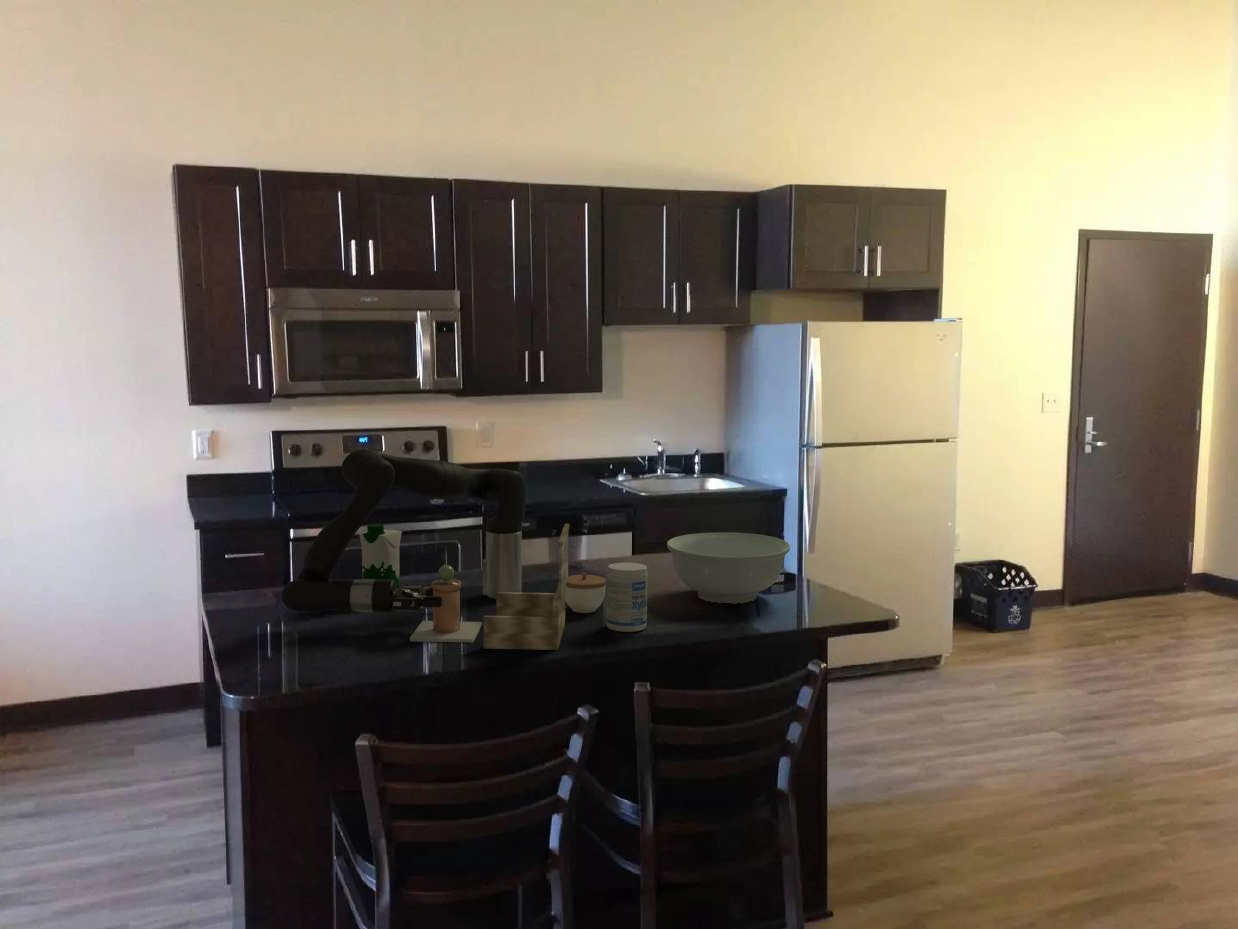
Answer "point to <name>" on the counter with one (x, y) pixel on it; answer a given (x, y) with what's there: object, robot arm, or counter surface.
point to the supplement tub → (627, 597)
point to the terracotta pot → (446, 601)
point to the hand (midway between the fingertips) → (444, 597)
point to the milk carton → (380, 553)
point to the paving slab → (463, 635)
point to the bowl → (728, 564)
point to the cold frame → (530, 614)
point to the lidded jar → (584, 592)
